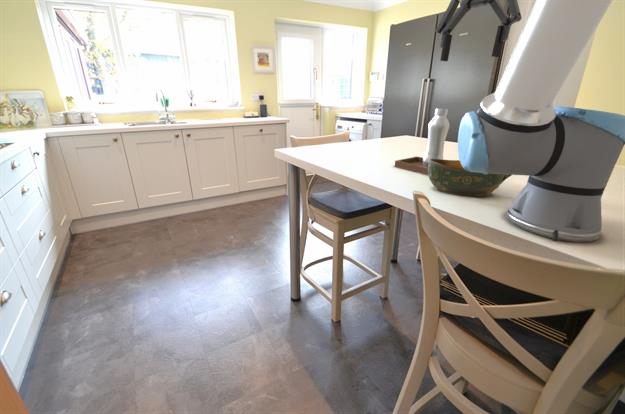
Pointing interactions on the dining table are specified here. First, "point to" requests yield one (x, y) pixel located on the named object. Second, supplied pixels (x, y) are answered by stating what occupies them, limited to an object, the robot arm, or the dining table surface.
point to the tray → (412, 165)
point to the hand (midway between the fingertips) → (468, 59)
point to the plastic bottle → (436, 136)
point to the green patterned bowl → (462, 179)
